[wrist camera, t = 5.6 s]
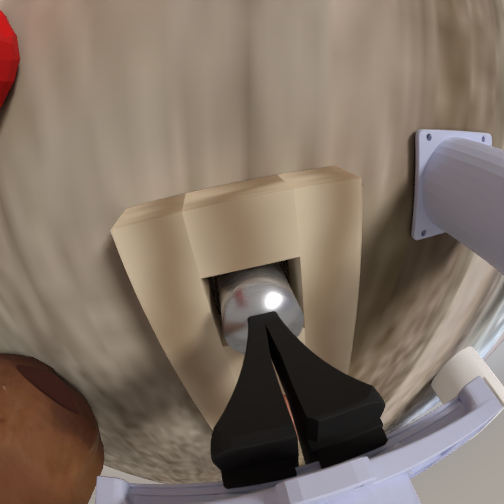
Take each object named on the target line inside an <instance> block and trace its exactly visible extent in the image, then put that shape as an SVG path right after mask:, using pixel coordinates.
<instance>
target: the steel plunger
mask: <svg viewBox="0 0 504 504" xmlns="http://www.w3.org/2000/svg"><path fill="white" fill-rule="evenodd" d="M217 280H218V291H219V299H220V308H221V316H222V324H223V332H224V337H225V340H226V342H227V343H228V345H229V346H230V347H231V348H233V349H234V350H235V351H237V352H239V353H242V354H245V351H246V345H247V337H248V321H247V319H248V318H249V317H250V316H255V315H259V314H263V313H268V312H272V311H275V312H277V314H278V315H279V317H280V318H281V320H282V321H283V322H284V324H285V325H286V326H287V327H288V328H289V329H290V331H291V332H292V333H293V334H294V335H295V336H296V337H298V336H299V334H300V333H301V331H302V328H303V325H304V315H303V312H302V310H301V308H300V306H299V304H298V302H297V300H296V298H295V296H294V293H293V291H292V289H291V287H290V285H289V283H288V281H287V279H286V277H285V275H284V273H283V271H282V269H281V267H280V265H279V263H278V262H274V263H270V264H265V265H261V266H256V267H252V268H247V269H243V270H238V271H234V272H229V273H225V274H220V275H218V279H217Z"/></svg>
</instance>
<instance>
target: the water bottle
mask: <svg viewBox="0 0 504 504" xmlns="http://www.w3.org/2000/svg"><path fill="white" fill-rule="evenodd" d="M19 61H20V56H19V49H18V41H17V36H16V34H15V33H14V31H13V29H12V28H11V26H10V24H9V22H8V20H7V17H6V16H5V15H4V14H3V12H2V11H0V108H1V106H2V105H3V103H4V100H5V98H6V96H7V94H8V92H9V90H10V88H11V86H12V84H13V82H14V80H15V76H16V72H17V68H18V65H19Z"/></svg>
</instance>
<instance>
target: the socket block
mask: <svg viewBox="0 0 504 504" xmlns="http://www.w3.org/2000/svg"><path fill="white" fill-rule="evenodd" d="M110 231H111V234H112V236H113V239H114V242H115V244H116V247H117V250H118V252H119V255H120V257H121V260H122V262H123V265H124V267H125V270H126V272H127V274H128V277H129V279H130V281H131V284H132V286H133V288H134V290H135V293H136V295H137V297H138V299H139V301H140V304H141V306H142V308H143V310H144V312H145V314H146V316H147V318H148V320H149V322H150V325H151V327H152V329H153V330H154V332H155V334H156V336H157V338H158V340H159V342H160V344H161V346H162V348H163V350H164V352H165V353H166V355H167V357H168V359H169V361H170V363H171V364H172V366H173V368H174V370H175V371H176V373H177V375H178V377H179V378H180V380H181V382H182V383H183V385H184V387H185V388H186V390H187V392H188V393H189V395H190V397H191V398H192V400H193V401H194V403H195V405H196V406H197V408H198V409H199V411H200V412H201V414H202V415H203V417H204V418H205V420H206V421H207V423H208V424H209V426H210V427H211V429H212V430H213V429H214V426H215V425H216V423H217V422H218V420H219V418H220V417H221V415H222V414H223V412H224V410H225V408H226V406H227V404H228V402H229V400H230V398H231V396H232V394H233V391H234V389H235V386H236V384H237V381H238V378H239V375H240V372H241V368H242V365H243V360H244V356H245V354H242V353H239V352H237V351H235V350H234V349H233V348H231V347H230V346H229V345H228V343H227V342H226V340H225V337H224V332H223V324H222V316H221V315H219V313H218V310H217V307H216V304H215V300H214V297H213V293H212V290H211V287H210V283H209V280H208V277H211V276H215V275H220V274H225V273H229V272H234V271H238V270H243V269H247V268H252V267H256V266H261V265H265V264H270V263H274V262H279V261H283V260H287V262H288V271H289V281H290V287H291V289H292V291H293V293H294V296H295V298H296V300H297V302H298V304H299V306H300V308H301V310H302V312H303V315H304V325H303V328H302V331H301V333H300V334H299V336H298V337H297V338H298V339H299V340H300V341H301V342H302V343H303V344H304V345H305V346H306V347H308V348H309V349H310V350H311V351H312V352H313V353H315V354H316V355H317V356H318V357H320V358H321V359H322V360H324V361H325V362H327V363H328V364H330V365H331V366H333V367H335V368H336V369H338V370H340V371H341V372H343V373H345V374H347V375H348V372H349V366H350V360H351V353H352V346H353V339H354V331H355V323H356V314H357V304H358V293H359V280H360V264H361V242H362V178H360V177H358V176H356V175H354V174H352V173H350V172H348V171H345V170H343V169H341V168H339V167H337V166H331V167H324V168H317V169H310V170H304V171H297V172H291V173H285V174H279V175H273V176H268V177H262V178H257V179H251V180H246V181H241V182H236V183H231V184H226V185H221V186H217V187H212V188H207V189H203V190H198V191H194V192H190V193H186V194H181V195H177V196H173V197H169V198H165V199H161V200H157V201H153V202H149V203H146V204H142V205H138V206H135V207H131V208H127V209H125V211H124V212H123V213H122V215H121V216H120V217H119V219H118V220H117V222H116V223H115V224H114V226H113V227H112V229H111V230H110ZM272 363H273V362H272ZM273 366H274V365H273ZM274 370H275V367H274ZM275 373H276V376H277V379H278V382H279V385H280V388H281V391H282V394H283V395H285V392H284V390H283V387H282V385H281V382H280V380H279V377H278V375H277V372H276V370H275Z"/></svg>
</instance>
